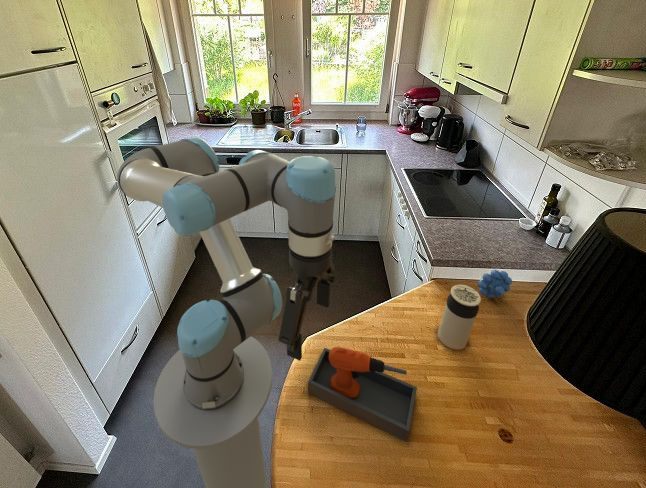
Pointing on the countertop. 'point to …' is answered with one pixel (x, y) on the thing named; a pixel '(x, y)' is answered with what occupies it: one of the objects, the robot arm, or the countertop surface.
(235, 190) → the robot arm
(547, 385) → the countertop surface
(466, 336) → the travel mug
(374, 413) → the tray
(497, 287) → the grapes
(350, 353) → the toy drill
